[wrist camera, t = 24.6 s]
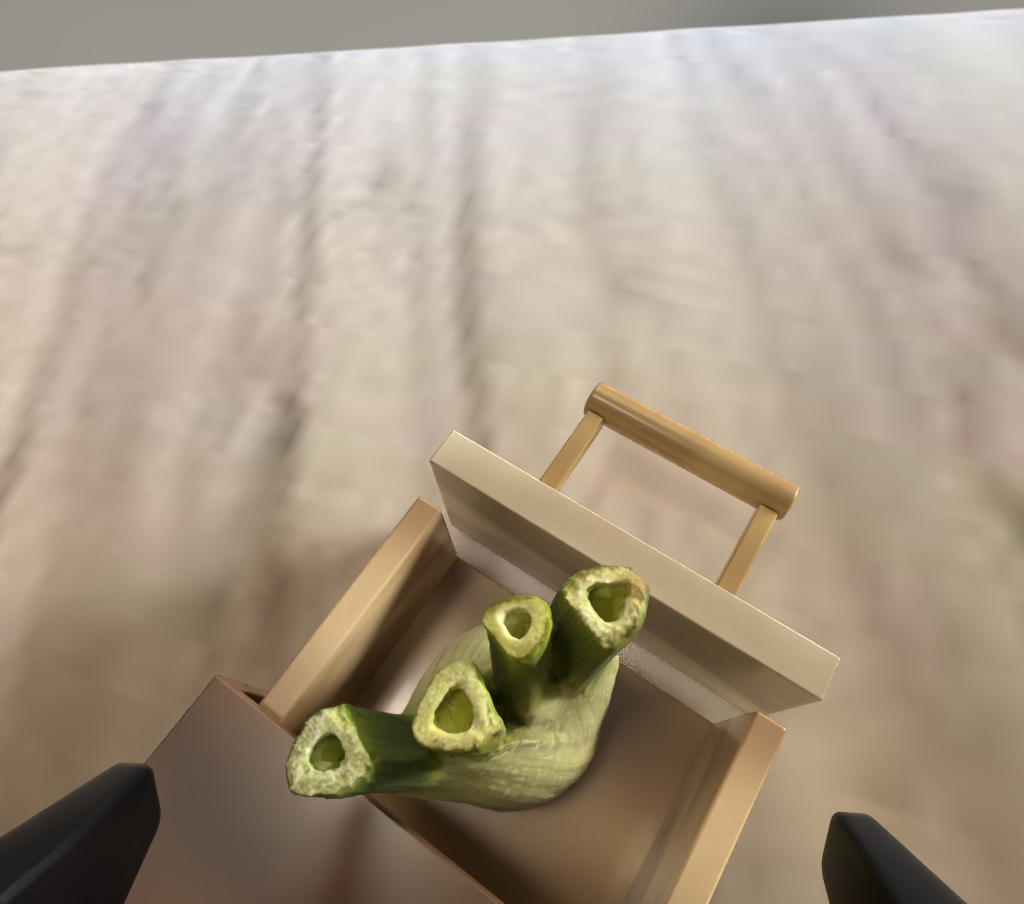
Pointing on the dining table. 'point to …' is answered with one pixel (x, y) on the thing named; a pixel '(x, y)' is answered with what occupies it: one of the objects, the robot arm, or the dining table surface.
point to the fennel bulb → (489, 706)
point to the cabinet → (274, 824)
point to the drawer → (634, 701)
